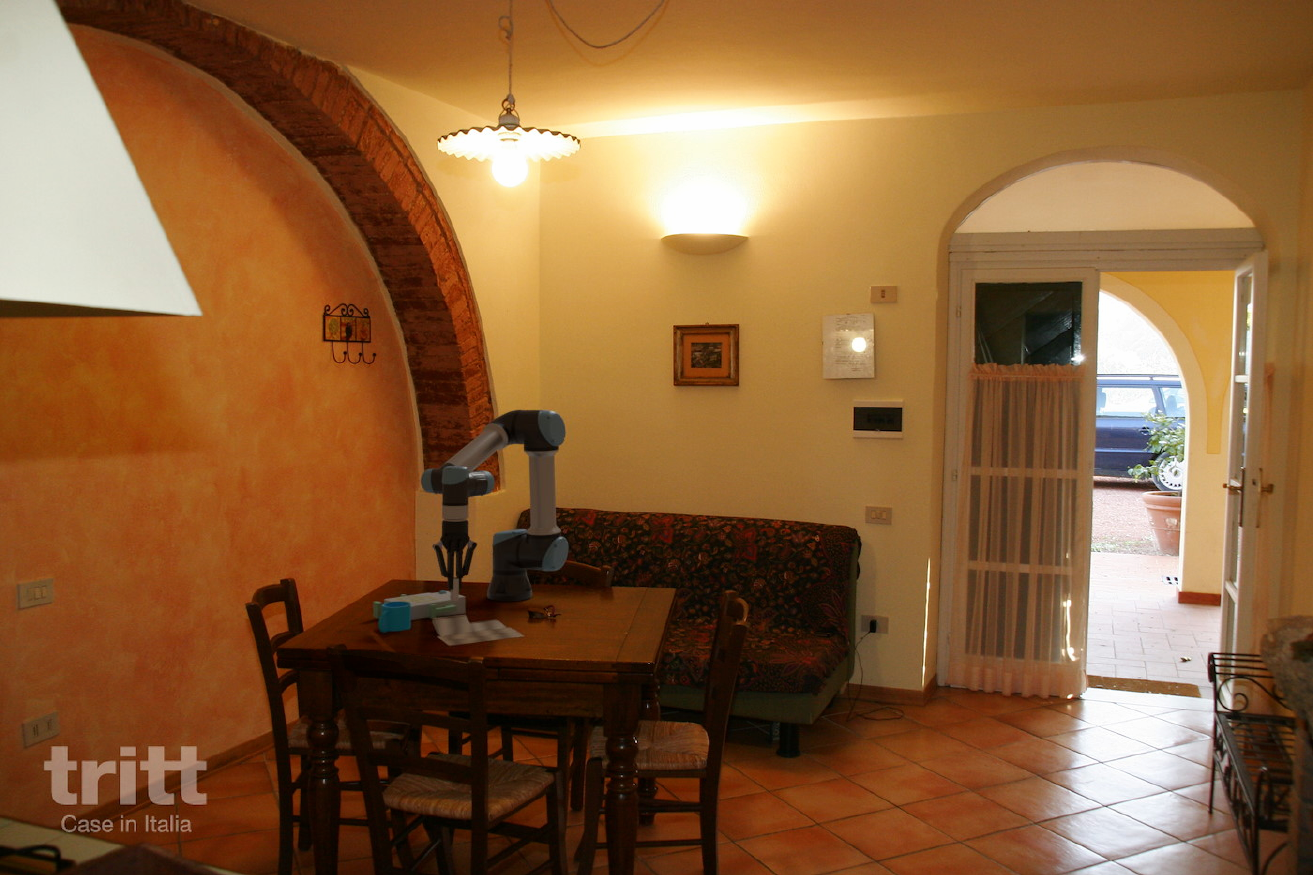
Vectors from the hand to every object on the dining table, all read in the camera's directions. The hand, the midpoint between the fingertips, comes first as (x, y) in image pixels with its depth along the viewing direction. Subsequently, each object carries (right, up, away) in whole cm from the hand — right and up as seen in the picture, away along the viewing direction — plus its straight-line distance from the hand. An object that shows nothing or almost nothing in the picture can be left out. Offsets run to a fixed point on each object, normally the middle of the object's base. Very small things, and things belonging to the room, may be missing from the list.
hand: (454, 600), depth 273 cm
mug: (-18, -10, 0) cm, 21 cm away
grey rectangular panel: (+8, -9, +5) cm, 13 cm away
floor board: (+9, -10, -6) cm, 15 cm away
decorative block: (-15, -9, +22) cm, 28 cm away
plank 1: (0, -8, 0) cm, 8 cm away
